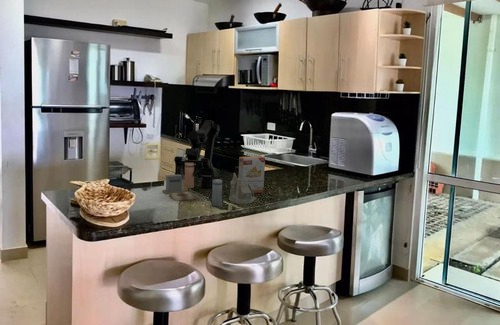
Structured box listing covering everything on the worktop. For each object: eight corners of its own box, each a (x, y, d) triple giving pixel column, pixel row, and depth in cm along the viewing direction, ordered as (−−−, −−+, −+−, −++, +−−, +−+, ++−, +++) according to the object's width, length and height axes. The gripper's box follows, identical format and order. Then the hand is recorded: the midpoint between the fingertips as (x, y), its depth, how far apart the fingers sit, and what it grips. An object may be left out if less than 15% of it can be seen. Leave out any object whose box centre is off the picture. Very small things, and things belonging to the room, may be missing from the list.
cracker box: (242, 195, 254) (243, 158, 250) (237, 192, 259) (238, 156, 256) (264, 193, 260) (265, 157, 257) (259, 190, 266) (260, 155, 262)
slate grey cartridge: (219, 203, 233) (220, 178, 231) (223, 206, 229) (223, 180, 227) (210, 204, 231) (211, 179, 229) (214, 206, 227) (214, 181, 225)
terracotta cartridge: (192, 185, 241) (193, 161, 239) (194, 187, 237) (195, 163, 234) (183, 186, 239) (183, 162, 237) (185, 188, 235) (185, 163, 233)
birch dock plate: (190, 194, 251) (190, 191, 251) (196, 198, 241) (197, 195, 241) (169, 195, 246) (169, 193, 245) (175, 200, 236) (175, 197, 236)
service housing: (181, 190, 260) (181, 173, 258) (185, 192, 254) (185, 176, 252) (162, 191, 255) (162, 174, 253) (166, 194, 249) (166, 177, 247)
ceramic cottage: (236, 204, 232) (238, 175, 230) (224, 198, 247) (226, 171, 245) (263, 204, 239) (265, 176, 237) (250, 198, 253) (252, 171, 252)
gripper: (175, 141, 240) (167, 165, 231) (209, 143, 236) (202, 167, 227) (180, 153, 249) (173, 177, 240) (213, 155, 245) (206, 179, 236)
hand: (188, 175), depth 236 cm, fingers closed on terracotta cartridge, 5 cm apart
